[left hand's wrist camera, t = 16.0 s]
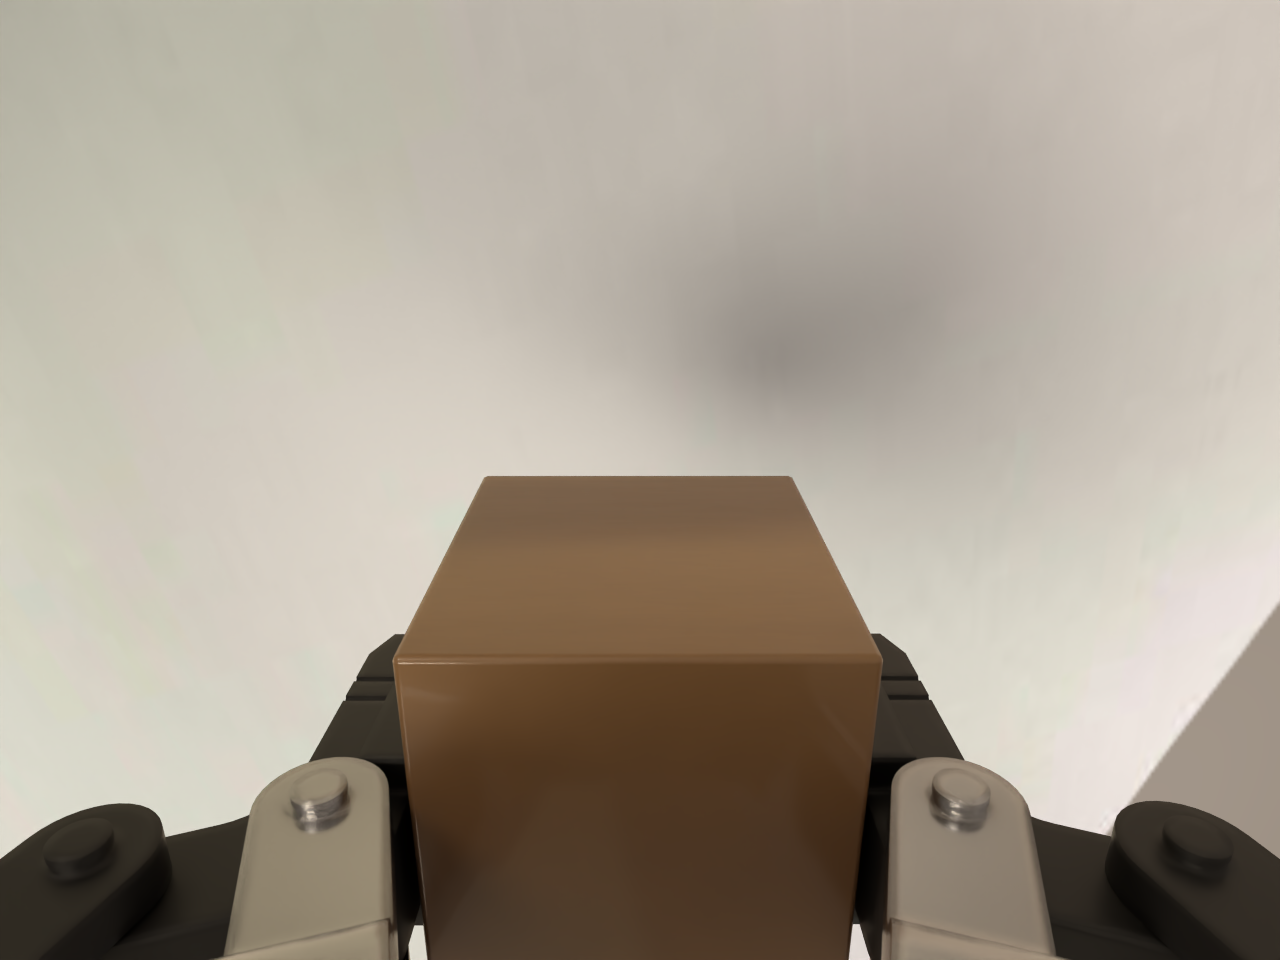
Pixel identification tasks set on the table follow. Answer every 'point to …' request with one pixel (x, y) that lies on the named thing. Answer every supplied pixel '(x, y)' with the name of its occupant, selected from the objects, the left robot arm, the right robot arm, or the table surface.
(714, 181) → the table surface
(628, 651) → the brown wooden block
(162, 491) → the table surface
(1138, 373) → the table surface
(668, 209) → the table surface
